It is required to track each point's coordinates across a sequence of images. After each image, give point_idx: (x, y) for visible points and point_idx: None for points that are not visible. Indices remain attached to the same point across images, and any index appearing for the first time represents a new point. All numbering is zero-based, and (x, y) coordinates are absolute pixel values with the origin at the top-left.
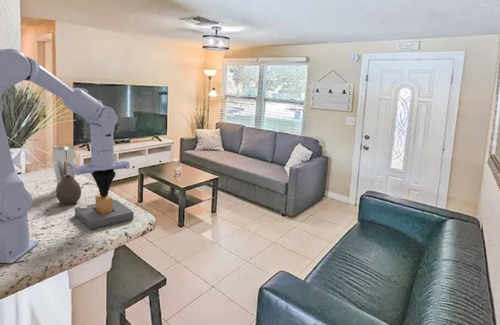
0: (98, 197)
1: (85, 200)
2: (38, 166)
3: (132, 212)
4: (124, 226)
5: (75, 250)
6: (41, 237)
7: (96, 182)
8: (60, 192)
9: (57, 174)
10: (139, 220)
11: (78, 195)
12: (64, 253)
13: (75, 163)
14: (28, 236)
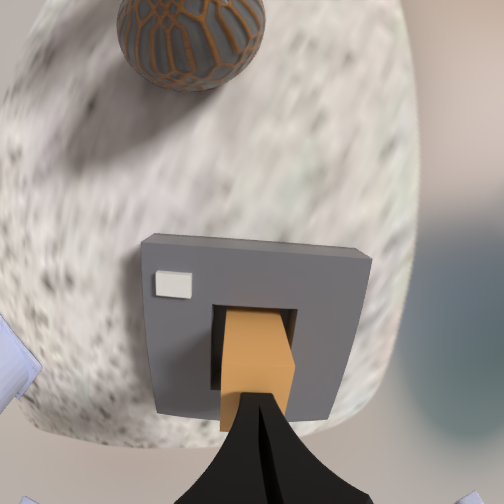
0: (222, 399)
1: (278, 68)
2: None
3: (323, 418)
4: None
5: (112, 438)
6: (44, 339)
7: (217, 459)
8: (123, 53)
9: None
10: None
11: (226, 79)
12: (92, 432)
13: None
14: (15, 391)
